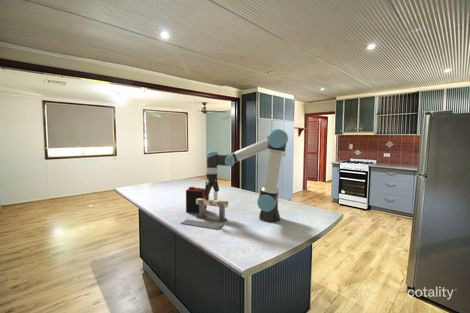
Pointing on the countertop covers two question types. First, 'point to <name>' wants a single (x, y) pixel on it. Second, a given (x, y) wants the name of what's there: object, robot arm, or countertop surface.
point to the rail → (213, 202)
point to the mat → (202, 224)
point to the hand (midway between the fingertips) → (211, 202)
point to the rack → (220, 218)
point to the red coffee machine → (194, 199)
